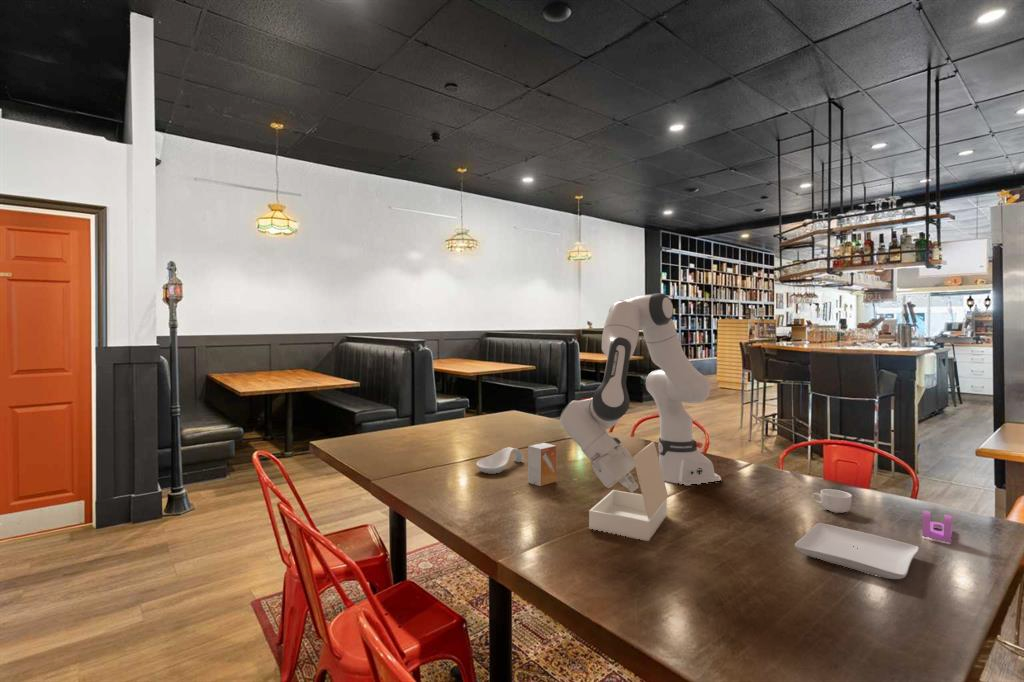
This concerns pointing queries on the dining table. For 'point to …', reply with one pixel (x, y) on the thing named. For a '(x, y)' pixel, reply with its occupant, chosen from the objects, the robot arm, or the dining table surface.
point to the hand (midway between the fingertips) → (635, 489)
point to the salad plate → (858, 550)
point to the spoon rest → (499, 460)
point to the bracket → (934, 534)
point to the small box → (541, 464)
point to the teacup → (834, 500)
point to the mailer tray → (625, 516)
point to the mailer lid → (650, 479)
